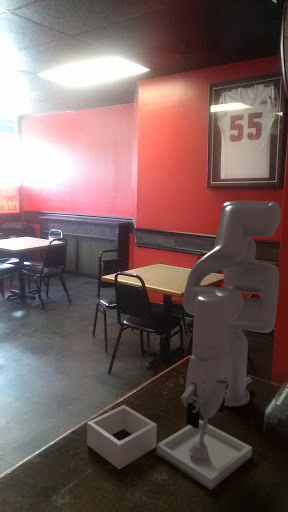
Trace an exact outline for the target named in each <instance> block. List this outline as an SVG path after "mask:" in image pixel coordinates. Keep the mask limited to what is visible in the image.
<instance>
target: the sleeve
mask: <svg viewBox="0 0 288 512" xmlns="http://www.w3.org/2000/svg"><path fill="white" fill-rule="evenodd" d="M157 425H158V424H157V423H155V422H154V421H152V420H151V419H148V417H147V418H146V416H143V415H142V414H140V413H138V412H137V411H135V410H133V409H132V408H130V407H128V406H127V405H125V404H122V405H121V406H119V407H116V408H114V409H113V410H111V411H108V412H106V413H105V414H102V415H100V416H98V417H95V418H93V419H91V420H89V421H87V422H86V426H87V427H86V445H87V446H88V447H89V448H91V449H92V450H93V451H95V452H96V453H97V454H99V456H101V457H102V458H104V459H105V460H106V461H108V462H109V463H111V465H113V466H114V467H115V468H117V469H118V470H120V469H122V468H124V467H126V466H127V465H129V464H130V463H132V462H133V461H136V460H137V459H139V458H140V457H142V456H143V455H145V454H147V453H149V452H150V451H151V450H153V449H154V448H155V449H156V448H157V432H158V431H157V427H158V426H157ZM122 430H124V431H126V432H128V433H130V435H129V436H127V437H125V438H124V439H121V440H118V439H117V438H116V437H114V436H113V435H114V434H115V435H116V433H118V432H121V431H122Z"/></svg>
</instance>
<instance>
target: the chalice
mask: <svg viewBox="0 0 288 512" xmlns="http://www.w3.org/2000/svg"><path fill="white" fill-rule="evenodd" d="M228 383H229V381H228V380H227V379H226V384H222V383H217V388H216V391H215V393H214V395H213V397H212V398H210V399H208V400H206V401H204V402H202V403H201V405H200V407H199V409H200V410H199V412H200V415H202V417H203V420H202V421H203V423H202V424H201V425H202V430H201V431H200V432H199V433H200V439H199V440H198V441H195V442H193V443H192V445H191V446H190V448H189V449H188V452H189V453H190V454H191V455H192V456H194V457H196V458H200V459H207V458H209V454H208V447H207V445H206V444H205V443H204V436H205V435H206V431H205V430H206V428H207V427H208V425H207V424H208V419H211V418H213V417H214V416H215V414H216V413H217V412H218V411H217V410H218V409H219V407H220V406H221V404H222V402H223V398H224V393H225V388H226V386H227V384H228ZM197 398H199V397H198V396H197Z"/></svg>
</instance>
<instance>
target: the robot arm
mask: <svg viewBox="0 0 288 512" xmlns="http://www.w3.org/2000/svg"><path fill="white" fill-rule="evenodd" d="M281 215H282V211H281V207H280V205H279V203H278V202H276V201H266V200H265V201H263V200H262V201H261V200H240V199H239V200H229V201H226V202H224V203H223V204H222V205H221V208H220V219H219V221H218V222H219V224H218V227H217V231H216V236H215V240H214V242H213V243H214V244H213V248H212V250H210V251H208V252H207V253H206V254H204V255H203V256H202V257H201V258H199V259H198V261H197V262H195V264H194V265H193V266H192V268H191V270H190V271H189V273H188V277H187V280H186V284H185V288H184V291H183V295H182V297H183V298H182V305H183V309H184V311H185V312H186V313H188V314H189V315H193V331H192V332H193V334H192V355H190V356H189V362H188V365H187V371H186V379H185V380H186V381H185V391H184V392H183V393H182V395H181V397H180V399H181V402H182V406H183V407H184V409H186V418H185V419H186V425H187V426H188V425H190V426H192V427H194V428H196V429H197V428H199V420H200V415H201V411H200V410H199V409H200V405H201V403H202V402H204V401H206V400H208V399H210V398H212V397H213V395H214V393H215V391H216V388H217V383H222V384H226V379H227V380H228V381H229V383H228V384H227V386H226V388H225V393H224V398H223V402H222V404H221V406H220V407H219V409H218V410H217V412H220V413H224V412H225V407H233V408H234V407H241V406H244V405H246V404H248V403H249V401H250V400H251V398H250V392H249V391H248V390H247V389H246V388H247V385H248V384H250V383H251V382H252V378H251V376H247V367H248V350H249V342H248V339H247V337H246V335H245V333H244V332H243V331H248V332H257V333H263V334H265V333H266V334H267V333H268V334H269V333H271V332H272V331H273V329H274V327H275V325H276V317H277V309H278V308H277V307H278V299H279V298H278V297H279V287H280V273H279V269H278V267H277V266H276V265H275V264H273V263H269V262H261V261H256V252H257V251H256V250H257V245H256V243H255V241H254V239H253V238H252V237H262V238H263V237H264V238H270V237H272V236H273V235H274V234H275V233H276V231H277V229H278V228H279V225H280V222H281ZM222 270H224V271H223V285H224V287H220V286H213V285H204V284H203V285H202V282H203V280H204V279H205V278H206V277H208V276H209V275H211V274H214V273H216V272H220V271H222ZM242 293H243V294H253V295H259V296H260V297H261V298H256V297H255V298H254V297H248V296H242V295H243V294H242ZM198 397H199V398H198ZM194 401H196V402H195V404H193V402H194Z"/></svg>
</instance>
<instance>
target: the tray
mask: <svg viewBox="0 0 288 512" xmlns="http://www.w3.org/2000/svg"><path fill="white" fill-rule="evenodd" d="M203 421H204V420H201V419H199V428H197V429H196V428H194V427H192V426H190V425H188V424H187V426H185V427H183V428H182V429H180V430H179V431H177V432H175V433H173V434H172V435H170V436H168V437H167V438H165V439H163V440H162V441H160V442H158V443H156V454H155V455H157V456H158V457H160V458H161V459H163V460H165V461H166V462H168V463H170V464H171V465H173V467H175V468H177V469H178V470H179V471H181V472H183V473H184V474H186V475H187V476H188V477H190V478H192V479H193V480H194V481H196V482H198V483H200V484H201V485H202V486H204V487H205V488H207V489H209V490H210V491H212V490H213V489H215V487H217V486H218V485H219V484H220V483H221V482H222V481H224V480H225V479H226V478H227V477H228V476H230V475H231V474H232V473H233V472H235V471H236V470H237V469H239V467H241V466H242V465H244V463H246V462H247V461H248V460H249V459H250V458H251V457H252V453H253V451H252V450H253V447H252V446H251V445H250V444H247V443H245V442H243V441H241V440H239V439H237V438H236V437H234V436H233V435H230V434H228V433H226V432H224V431H222V430H220V429H219V428H216V427H215V426H212V425H211V424H209V423H207V425H208V427H207V428H206V430H205V431H206V435H205V436H204V443H205V444H206V445H207V447H208V454H209V458H207V459H200V458H196V457H194V456H192V455H191V454H190V453H189V452H188V449H189V448H190V446H191V445H192V443H193V442H195V441H198V440H199V439H200V433H199V432H200V431H201V430H202V425H201V424H202V423H203Z"/></svg>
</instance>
